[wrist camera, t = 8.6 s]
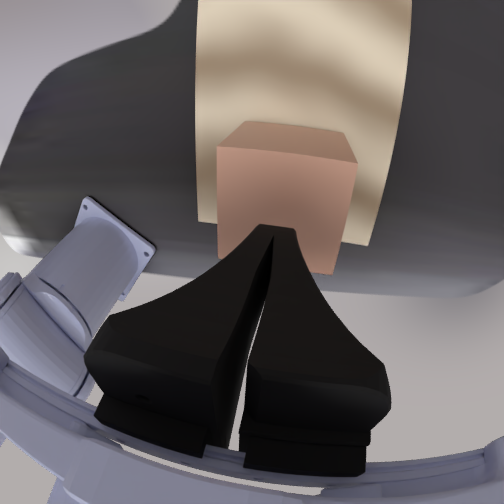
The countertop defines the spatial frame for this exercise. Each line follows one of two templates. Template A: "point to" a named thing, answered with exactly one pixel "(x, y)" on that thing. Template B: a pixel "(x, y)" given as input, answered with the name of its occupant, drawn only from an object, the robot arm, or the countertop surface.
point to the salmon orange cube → (285, 187)
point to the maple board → (303, 83)
